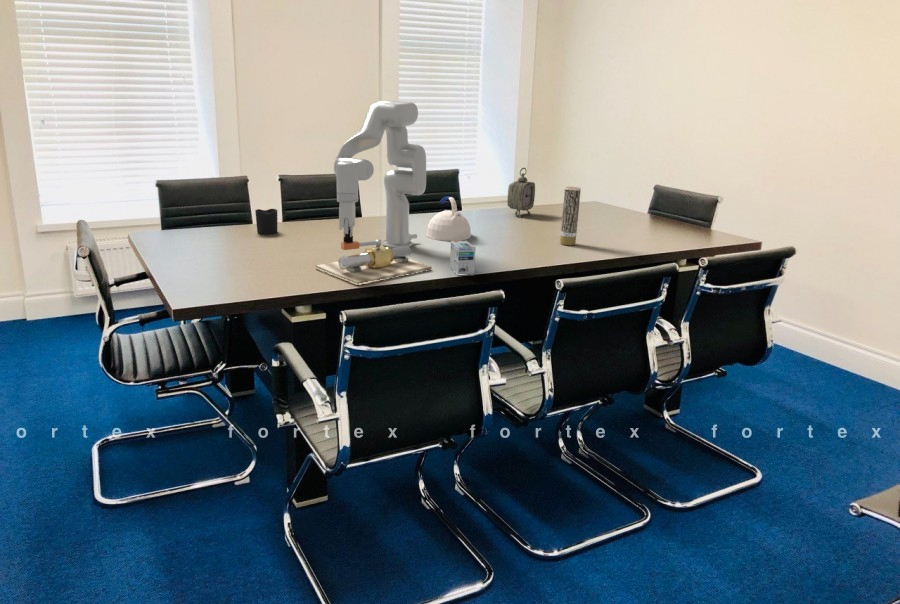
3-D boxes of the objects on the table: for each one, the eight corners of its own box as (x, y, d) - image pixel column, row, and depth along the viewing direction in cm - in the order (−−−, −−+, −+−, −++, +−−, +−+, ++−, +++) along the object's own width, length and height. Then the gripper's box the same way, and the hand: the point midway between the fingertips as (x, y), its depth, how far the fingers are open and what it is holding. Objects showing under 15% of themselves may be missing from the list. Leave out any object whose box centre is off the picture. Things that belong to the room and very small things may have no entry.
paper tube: (564, 241, 310) (569, 186, 302) (577, 244, 306) (583, 188, 298) (557, 244, 304) (562, 187, 296) (571, 246, 301) (576, 189, 293)
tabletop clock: (520, 218, 356) (524, 169, 348) (505, 216, 360) (508, 168, 352) (533, 214, 367) (536, 167, 359) (518, 212, 372) (521, 165, 364)
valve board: (388, 255, 275) (388, 252, 275) (431, 270, 258) (431, 266, 257) (315, 269, 253) (315, 265, 253) (357, 286, 235) (357, 282, 235)
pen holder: (270, 235, 301) (269, 213, 298) (252, 233, 303) (251, 211, 300) (282, 231, 309) (281, 209, 306) (264, 229, 312) (263, 207, 309)
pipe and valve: (402, 258, 266) (402, 239, 264) (412, 262, 262) (412, 242, 260) (337, 271, 246) (336, 250, 244) (346, 275, 242) (346, 253, 240)
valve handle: (341, 248, 246) (340, 242, 246) (379, 244, 254) (379, 238, 253) (343, 250, 244) (343, 244, 244) (382, 246, 252) (382, 240, 251)
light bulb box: (474, 275, 253) (476, 246, 250) (457, 276, 252) (458, 247, 248) (466, 267, 263) (467, 240, 260) (449, 268, 261) (450, 240, 258)
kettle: (437, 242, 300) (438, 201, 294) (419, 232, 317) (420, 193, 312) (478, 240, 308) (480, 199, 302) (459, 230, 325) (461, 192, 320)
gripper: (339, 192, 251) (340, 241, 257) (334, 200, 237) (335, 252, 243) (360, 193, 251) (360, 242, 257) (356, 201, 237) (356, 252, 243)
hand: (348, 246), depth 250 cm, fingers closed
